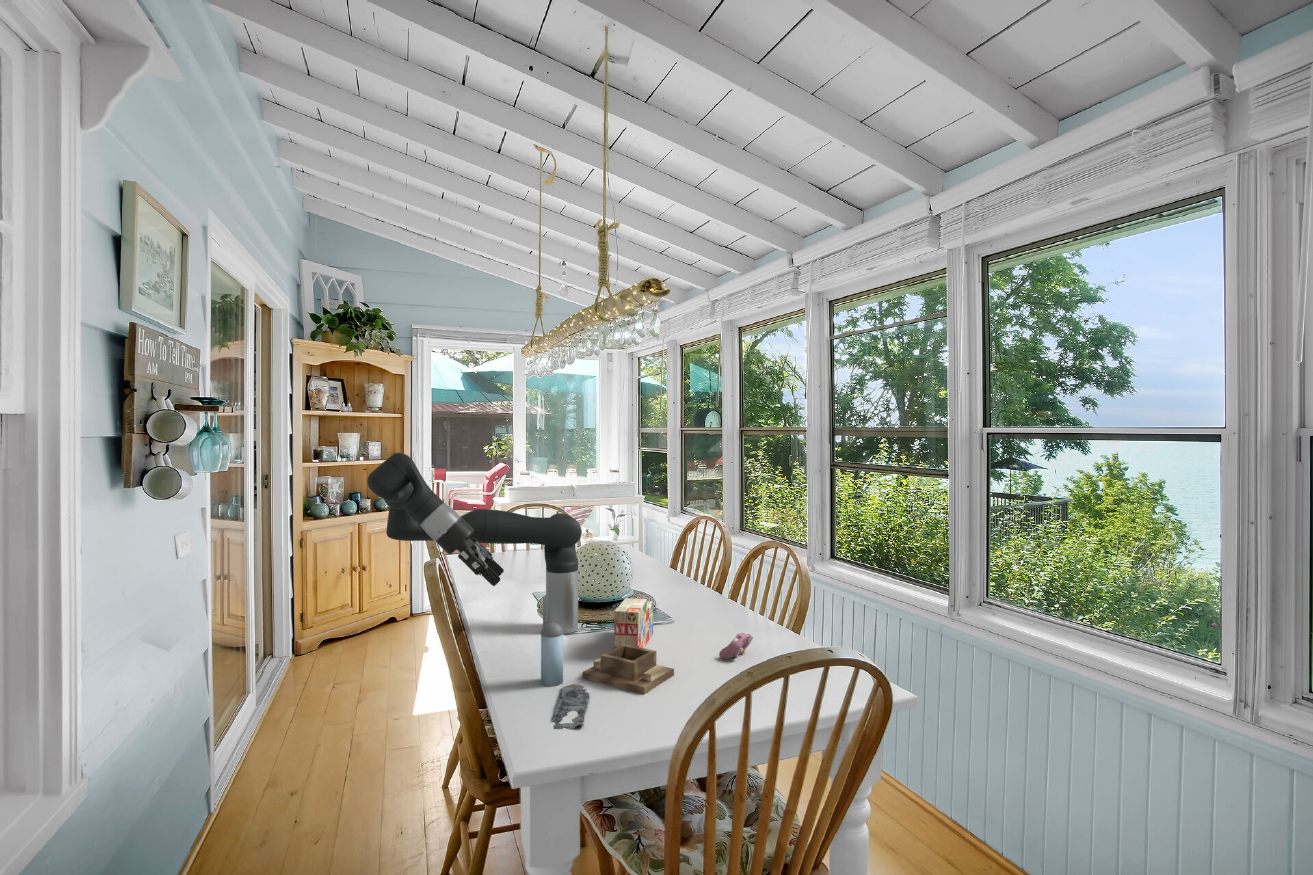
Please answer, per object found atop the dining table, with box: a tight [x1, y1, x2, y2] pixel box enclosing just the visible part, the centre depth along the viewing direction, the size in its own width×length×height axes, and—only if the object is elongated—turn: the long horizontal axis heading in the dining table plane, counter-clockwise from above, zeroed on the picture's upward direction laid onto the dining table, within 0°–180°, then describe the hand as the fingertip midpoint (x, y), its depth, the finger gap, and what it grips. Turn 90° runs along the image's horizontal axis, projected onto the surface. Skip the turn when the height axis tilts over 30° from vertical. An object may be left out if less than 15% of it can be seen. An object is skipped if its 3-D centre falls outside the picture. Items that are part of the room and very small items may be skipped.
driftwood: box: [550, 683, 590, 730], centre depth 133 cm, size 21×7×2 cm, turn 0°
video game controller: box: [718, 631, 754, 660], centre depth 164 cm, size 10×5×7 cm, turn 148°
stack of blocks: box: [613, 597, 654, 649], centre depth 171 cm, size 21×6×12 cm, turn 170°
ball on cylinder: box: [540, 623, 564, 687], centre depth 145 cm, size 5×5×14 cm
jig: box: [582, 644, 675, 695], centre depth 149 cm, size 17×13×6 cm
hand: (499, 578), depth 144 cm, fingers open, 8 cm apart
